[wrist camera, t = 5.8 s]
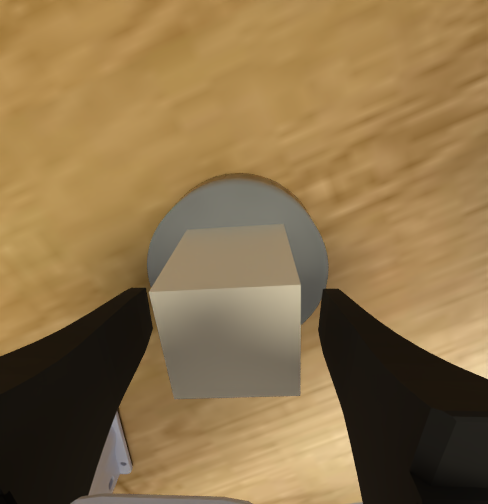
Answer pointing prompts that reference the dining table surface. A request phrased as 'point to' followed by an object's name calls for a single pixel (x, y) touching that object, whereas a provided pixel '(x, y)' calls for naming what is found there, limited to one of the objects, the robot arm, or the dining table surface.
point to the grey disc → (246, 214)
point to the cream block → (230, 314)
